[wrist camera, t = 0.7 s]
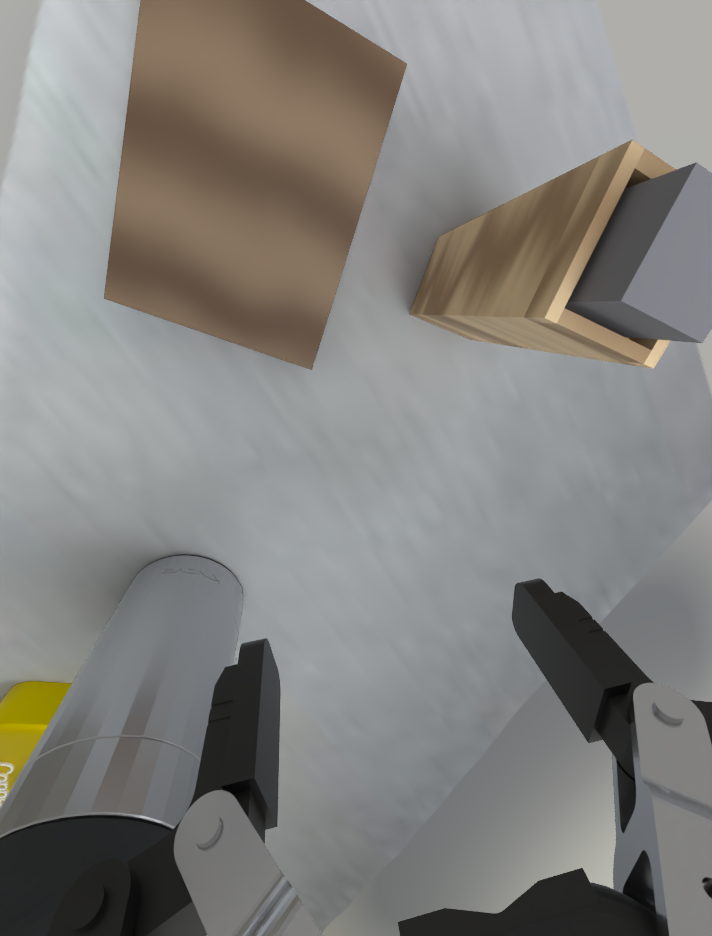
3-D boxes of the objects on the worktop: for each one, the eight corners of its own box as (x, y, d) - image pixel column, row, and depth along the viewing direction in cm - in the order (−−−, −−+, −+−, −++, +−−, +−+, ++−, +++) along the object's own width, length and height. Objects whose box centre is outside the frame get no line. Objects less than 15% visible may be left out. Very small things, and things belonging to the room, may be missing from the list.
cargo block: (622, 336, 14) (702, 342, 11) (552, 302, 13) (621, 300, 10) (677, 240, 13) (779, 221, 10) (605, 195, 12) (696, 162, 9)
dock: (309, 364, 26) (311, 369, 24) (122, 299, 23) (103, 298, 21) (394, 90, 21) (407, 63, 19) (169, -44, 18) (152, -95, 16)
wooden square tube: (469, 339, 27) (653, 368, 14) (409, 314, 26) (544, 317, 12) (501, 267, 26) (745, 217, 12) (438, 236, 24) (632, 139, 11)
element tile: (10, 674, 33) (-33, 730, 28) (190, 687, 37) (177, 738, 32) (8, 781, 37) (-28, 843, 33) (168, 782, 41) (154, 838, 37)
